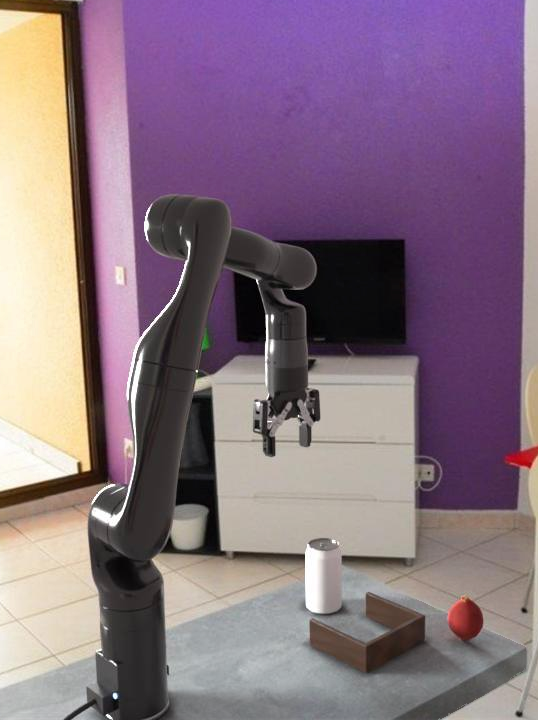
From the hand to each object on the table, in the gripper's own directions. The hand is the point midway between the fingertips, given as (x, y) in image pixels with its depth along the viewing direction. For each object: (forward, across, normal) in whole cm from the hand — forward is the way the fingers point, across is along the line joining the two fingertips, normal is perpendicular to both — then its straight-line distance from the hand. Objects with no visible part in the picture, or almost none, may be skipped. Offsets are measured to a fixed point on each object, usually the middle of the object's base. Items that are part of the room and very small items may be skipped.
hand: (287, 451), depth 162 cm
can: (+28, +2, -7) cm, 29 cm away
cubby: (+28, -2, -21) cm, 35 cm away
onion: (+28, +10, -32) cm, 44 cm away
